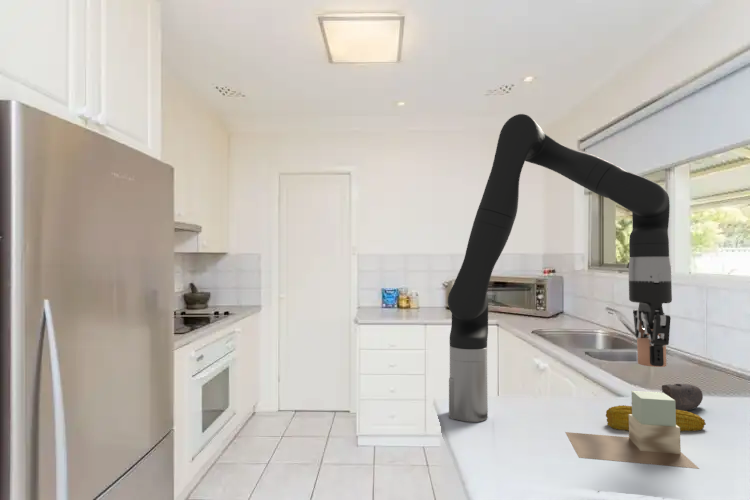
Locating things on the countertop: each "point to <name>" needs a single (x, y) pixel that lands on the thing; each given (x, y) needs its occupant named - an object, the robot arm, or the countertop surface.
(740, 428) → the countertop surface
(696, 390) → the perforated stone tool
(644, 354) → the peach rounded cylinder
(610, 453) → the board
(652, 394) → the top block
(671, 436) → the base block
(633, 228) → the robot arm
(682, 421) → the food
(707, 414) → the countertop surface
